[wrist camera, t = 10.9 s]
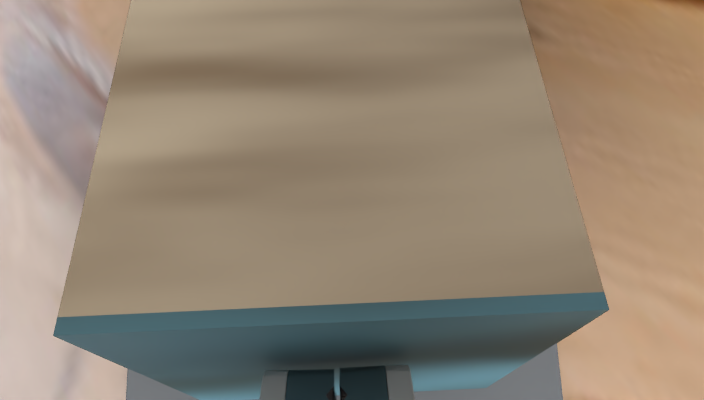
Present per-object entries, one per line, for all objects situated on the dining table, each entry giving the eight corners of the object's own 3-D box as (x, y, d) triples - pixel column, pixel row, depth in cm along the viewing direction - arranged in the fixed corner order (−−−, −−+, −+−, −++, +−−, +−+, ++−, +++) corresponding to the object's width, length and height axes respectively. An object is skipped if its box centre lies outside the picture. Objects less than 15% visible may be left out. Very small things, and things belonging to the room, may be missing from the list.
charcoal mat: (596, 732, 17) (601, 740, 16) (110, 753, 17) (106, 762, 16) (504, -99, 23) (506, -105, 23) (154, -90, 23) (152, -95, 23)
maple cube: (609, 309, 8) (505, -50, 12) (53, 336, 8) (139, -35, 12) (485, 388, 16) (448, 152, 20) (204, 401, 16) (224, 162, 20)
